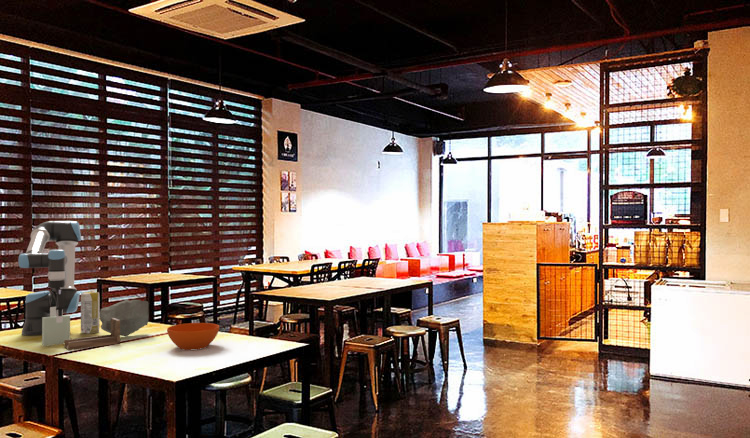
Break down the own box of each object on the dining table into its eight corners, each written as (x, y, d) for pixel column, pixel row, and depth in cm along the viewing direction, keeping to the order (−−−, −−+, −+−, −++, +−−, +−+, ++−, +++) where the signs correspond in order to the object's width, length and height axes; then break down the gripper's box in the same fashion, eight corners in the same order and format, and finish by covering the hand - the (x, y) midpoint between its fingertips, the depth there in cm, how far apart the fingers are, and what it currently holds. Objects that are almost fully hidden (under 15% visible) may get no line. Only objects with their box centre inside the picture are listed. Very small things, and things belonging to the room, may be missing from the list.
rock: (102, 340, 307) (102, 303, 307) (97, 339, 311) (97, 301, 311) (151, 333, 326) (151, 298, 327) (145, 332, 331) (146, 297, 331)
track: (63, 346, 292) (64, 322, 293) (113, 340, 308) (113, 317, 308) (69, 350, 285) (69, 325, 285) (120, 343, 301) (120, 320, 301)
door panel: (42, 344, 298) (42, 317, 298) (67, 341, 306) (68, 314, 306) (44, 345, 295) (44, 318, 295) (70, 342, 303) (70, 315, 303)
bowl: (204, 339, 310) (204, 321, 310) (228, 347, 292) (228, 327, 292) (158, 346, 293) (158, 327, 293) (181, 355, 275) (181, 333, 275)
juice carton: (101, 332, 331) (101, 290, 331) (88, 334, 325) (88, 291, 325) (91, 330, 336) (92, 289, 336) (78, 332, 330) (78, 290, 330)
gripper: (42, 278, 307) (42, 319, 307) (54, 281, 288) (54, 324, 288) (58, 277, 312) (58, 317, 312) (70, 280, 293) (70, 322, 293)
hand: (56, 321), depth 300 cm, fingers open, 13 cm apart
